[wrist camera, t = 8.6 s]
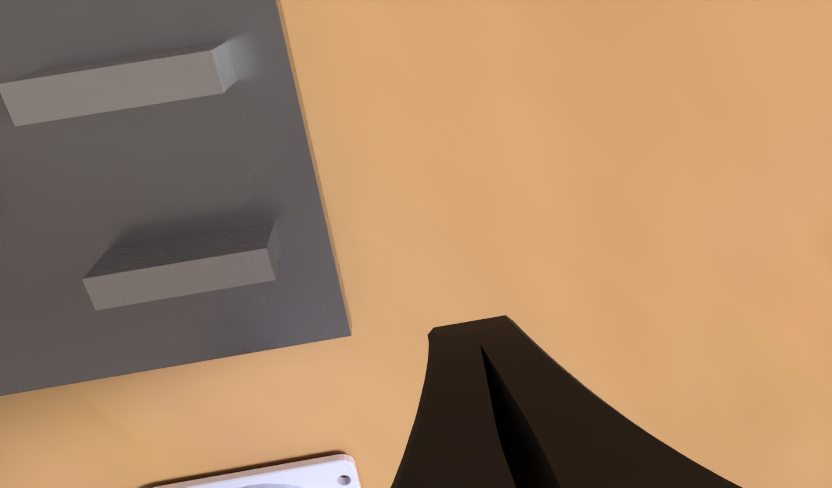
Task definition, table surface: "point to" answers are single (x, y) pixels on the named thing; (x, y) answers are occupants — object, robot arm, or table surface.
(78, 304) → the firebox plate
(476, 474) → the robot arm
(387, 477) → the table surface
